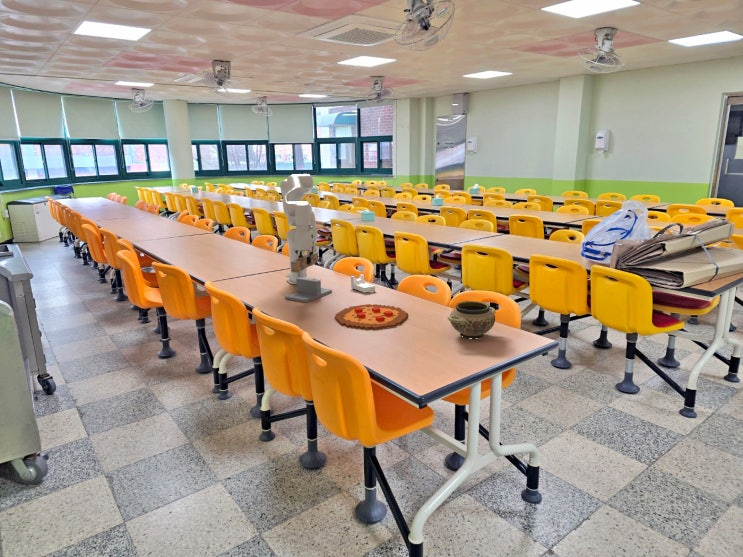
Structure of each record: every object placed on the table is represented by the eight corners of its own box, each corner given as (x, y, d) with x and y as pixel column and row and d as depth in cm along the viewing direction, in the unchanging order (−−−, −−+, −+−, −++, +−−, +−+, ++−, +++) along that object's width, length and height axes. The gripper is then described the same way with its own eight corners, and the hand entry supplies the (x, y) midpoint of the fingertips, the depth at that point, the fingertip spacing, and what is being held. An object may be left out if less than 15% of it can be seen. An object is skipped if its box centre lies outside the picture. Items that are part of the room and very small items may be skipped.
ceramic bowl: (482, 331, 209) (477, 297, 208) (513, 333, 193) (507, 296, 193) (437, 343, 196) (432, 307, 196) (467, 346, 181) (461, 307, 181)
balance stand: (285, 298, 252) (284, 281, 250) (311, 289, 270) (311, 272, 268) (306, 302, 245) (305, 284, 243) (332, 292, 263) (331, 275, 261)
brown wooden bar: (311, 261, 261) (311, 252, 259) (318, 261, 260) (317, 252, 258) (291, 272, 239) (290, 262, 237) (298, 272, 238) (297, 262, 236)
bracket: (351, 289, 270) (350, 276, 268) (361, 287, 274) (361, 274, 272) (364, 294, 259) (364, 280, 257) (375, 292, 263) (375, 278, 261)
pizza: (389, 304, 242) (389, 298, 241) (418, 323, 213) (418, 317, 212) (328, 312, 230) (327, 306, 230) (349, 334, 201) (349, 327, 201)
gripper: (321, 227, 245) (322, 263, 250) (292, 226, 250) (293, 261, 255) (315, 230, 238) (316, 266, 243) (285, 228, 243) (287, 264, 248)
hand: (305, 263), depth 249 cm, fingers closed on brown wooden bar, 3 cm apart
